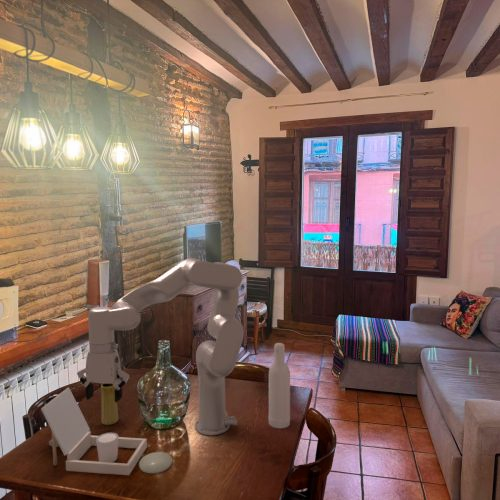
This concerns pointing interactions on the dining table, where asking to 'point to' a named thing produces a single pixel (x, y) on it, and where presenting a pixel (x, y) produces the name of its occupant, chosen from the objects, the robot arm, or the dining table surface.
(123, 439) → the cold frame
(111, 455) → the shot glass
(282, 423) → the bottle
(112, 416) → the vase
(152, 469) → the saucer
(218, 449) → the dining table surface
